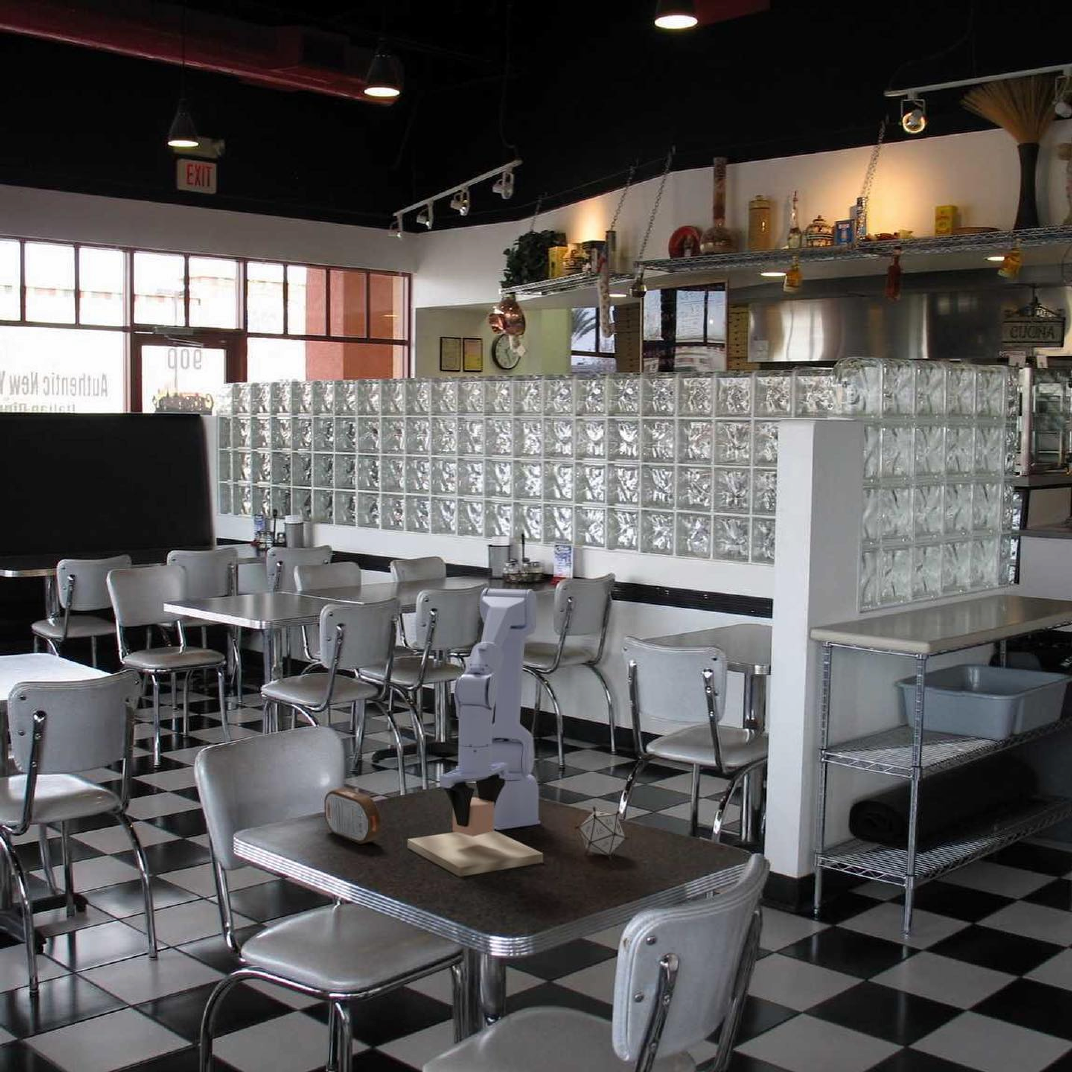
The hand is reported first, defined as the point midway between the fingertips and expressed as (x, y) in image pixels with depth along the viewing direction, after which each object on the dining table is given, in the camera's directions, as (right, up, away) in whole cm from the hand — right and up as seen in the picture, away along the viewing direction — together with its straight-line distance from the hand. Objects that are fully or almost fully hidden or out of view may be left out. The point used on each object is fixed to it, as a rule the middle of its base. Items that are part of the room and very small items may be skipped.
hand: (474, 822), depth 224 cm
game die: (+22, -6, +1) cm, 23 cm away
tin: (-22, -5, +10) cm, 25 cm away
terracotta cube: (0, -2, 0) cm, 2 cm away
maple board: (0, -6, 0) cm, 6 cm away
